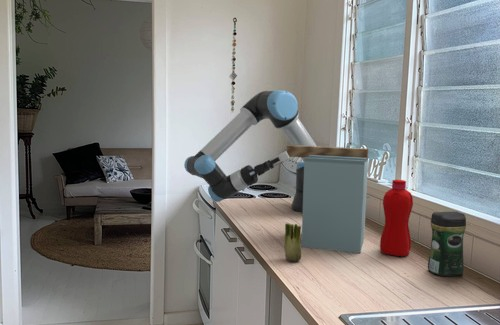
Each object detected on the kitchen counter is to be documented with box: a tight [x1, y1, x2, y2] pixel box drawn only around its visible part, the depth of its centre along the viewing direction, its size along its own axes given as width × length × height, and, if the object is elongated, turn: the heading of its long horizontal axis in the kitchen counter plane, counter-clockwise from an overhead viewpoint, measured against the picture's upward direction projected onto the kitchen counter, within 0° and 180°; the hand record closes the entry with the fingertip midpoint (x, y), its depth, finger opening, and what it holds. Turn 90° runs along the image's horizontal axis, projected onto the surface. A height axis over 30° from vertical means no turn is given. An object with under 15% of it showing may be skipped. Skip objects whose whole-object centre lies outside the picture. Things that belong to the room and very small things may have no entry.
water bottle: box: [379, 179, 414, 257], centre depth 157 cm, size 9×11×25 cm
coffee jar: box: [427, 211, 467, 277], centre depth 139 cm, size 10×8×19 cm
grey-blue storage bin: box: [301, 155, 369, 254], centre depth 166 cm, size 18×20×31 cm
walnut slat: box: [286, 144, 369, 161], centre depth 170 cm, size 29×4×4 cm, turn 72°
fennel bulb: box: [284, 222, 302, 263], centre depth 147 cm, size 6×5×12 cm
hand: (292, 152), depth 173 cm, fingers open, 13 cm apart
